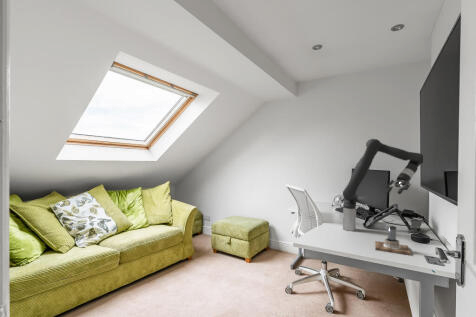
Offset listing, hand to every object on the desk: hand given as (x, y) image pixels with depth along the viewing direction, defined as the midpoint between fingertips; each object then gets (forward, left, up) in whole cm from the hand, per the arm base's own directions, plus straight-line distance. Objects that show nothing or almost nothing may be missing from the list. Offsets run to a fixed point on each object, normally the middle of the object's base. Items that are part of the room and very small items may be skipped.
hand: (393, 192), depth 175 cm
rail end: (-2, -24, -31) cm, 39 cm away
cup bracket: (-2, -24, -33) cm, 41 cm away
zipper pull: (+17, +33, -33) cm, 50 cm away
